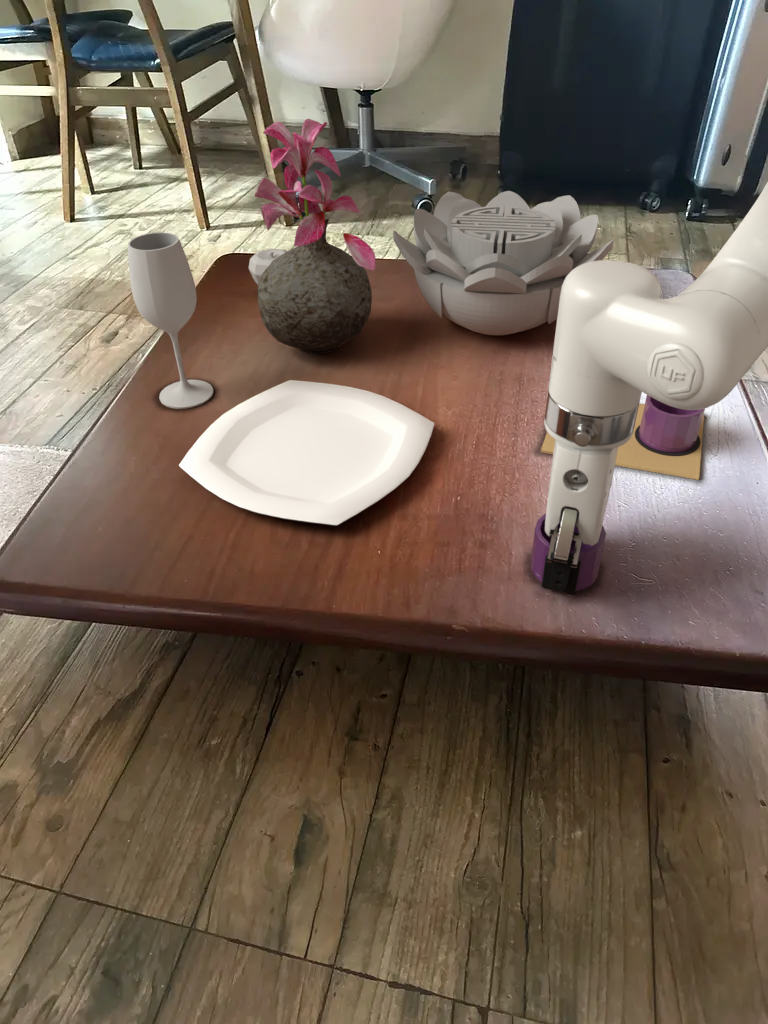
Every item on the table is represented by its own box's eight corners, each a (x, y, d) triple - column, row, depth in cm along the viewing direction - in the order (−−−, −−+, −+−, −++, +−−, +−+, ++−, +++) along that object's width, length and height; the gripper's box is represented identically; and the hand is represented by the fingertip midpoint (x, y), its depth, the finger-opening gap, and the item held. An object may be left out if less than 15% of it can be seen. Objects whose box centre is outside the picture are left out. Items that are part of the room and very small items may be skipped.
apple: (241, 292, 131) (236, 254, 127) (275, 276, 135) (271, 239, 131) (275, 304, 127) (270, 265, 123) (309, 288, 131) (305, 250, 127)
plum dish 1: (602, 553, 80) (609, 516, 76) (592, 598, 75) (600, 560, 72) (537, 540, 81) (542, 503, 78) (524, 583, 77) (529, 545, 74)
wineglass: (221, 381, 108) (193, 230, 95) (206, 410, 103) (174, 254, 89) (168, 379, 109) (133, 229, 96) (150, 408, 103) (111, 253, 90)
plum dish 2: (696, 426, 96) (706, 391, 93) (694, 457, 91) (704, 421, 88) (641, 418, 98) (648, 383, 94) (635, 447, 93) (643, 411, 90)
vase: (276, 316, 123) (250, 108, 104) (386, 318, 122) (380, 107, 103) (252, 369, 111) (218, 143, 91) (375, 373, 109) (366, 143, 90)
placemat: (703, 415, 99) (704, 412, 98) (698, 480, 89) (699, 476, 88) (560, 393, 104) (561, 390, 103) (540, 452, 93) (541, 449, 93)
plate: (461, 430, 97) (462, 417, 96) (344, 560, 80) (343, 546, 79) (287, 379, 108) (285, 366, 107) (150, 483, 91) (146, 469, 89)
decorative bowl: (381, 363, 111) (378, 260, 101) (413, 278, 134) (412, 187, 124) (599, 377, 106) (618, 271, 97) (594, 286, 129) (608, 193, 119)
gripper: (624, 478, 59) (590, 636, 71) (645, 369, 72) (613, 518, 83) (526, 461, 61) (508, 616, 73) (563, 357, 74) (543, 504, 85)
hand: (565, 562), depth 78 cm, fingers closed on plum dish 1, 6 cm apart
